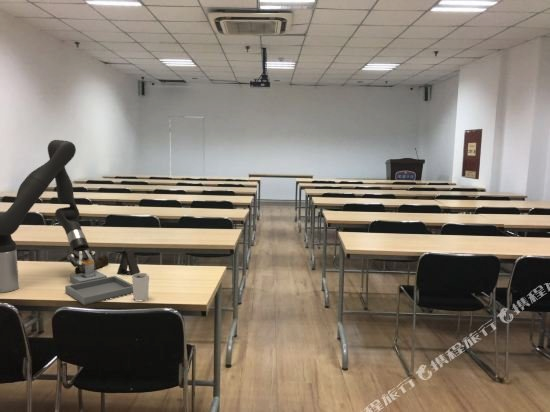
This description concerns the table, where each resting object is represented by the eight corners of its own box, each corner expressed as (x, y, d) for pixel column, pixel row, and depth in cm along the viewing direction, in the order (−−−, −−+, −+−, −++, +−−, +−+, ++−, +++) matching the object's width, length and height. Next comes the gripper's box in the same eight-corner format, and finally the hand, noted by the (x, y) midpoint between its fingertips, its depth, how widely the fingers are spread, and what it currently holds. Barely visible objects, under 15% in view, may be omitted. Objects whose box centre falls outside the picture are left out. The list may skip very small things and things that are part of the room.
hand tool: (82, 277, 207) (82, 265, 207) (74, 275, 209) (74, 264, 208) (113, 265, 229) (113, 254, 228) (106, 264, 230) (105, 254, 229)
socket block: (80, 287, 191) (80, 281, 190) (70, 281, 199) (69, 275, 199) (107, 282, 199) (106, 276, 199) (96, 276, 207) (95, 270, 207)
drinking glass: (129, 301, 176) (128, 277, 175) (137, 295, 183) (136, 272, 181) (144, 302, 175) (144, 278, 174) (152, 296, 182) (151, 273, 180)
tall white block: (86, 283, 196) (85, 262, 195) (82, 281, 199) (81, 260, 198) (94, 282, 199) (93, 261, 198) (91, 280, 202) (90, 259, 200)
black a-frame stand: (139, 272, 216) (139, 248, 214) (133, 275, 210) (133, 251, 208) (123, 270, 218) (122, 247, 216) (116, 274, 212) (116, 250, 210)
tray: (84, 305, 170) (83, 298, 170) (65, 292, 184) (65, 285, 184) (136, 292, 186) (136, 286, 185) (115, 282, 200) (115, 275, 199)
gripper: (63, 239, 197) (75, 270, 190) (94, 235, 207) (106, 264, 200) (60, 248, 202) (71, 279, 195) (90, 243, 212) (102, 273, 205)
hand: (89, 271), depth 198 cm, fingers closed on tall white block, 4 cm apart
